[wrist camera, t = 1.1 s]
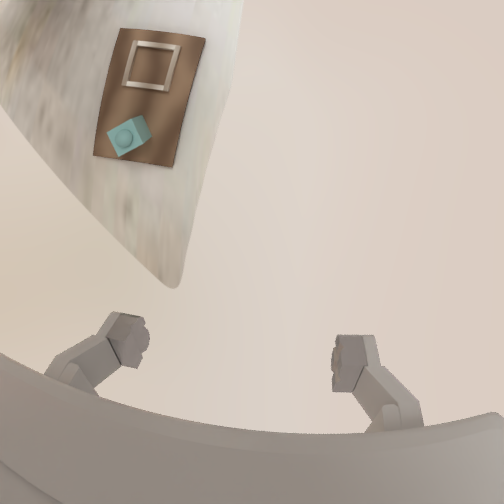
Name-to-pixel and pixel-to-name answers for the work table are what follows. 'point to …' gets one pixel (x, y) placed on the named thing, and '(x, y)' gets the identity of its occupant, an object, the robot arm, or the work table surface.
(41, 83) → the work table surface
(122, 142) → the studded block
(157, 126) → the brown board with frame
